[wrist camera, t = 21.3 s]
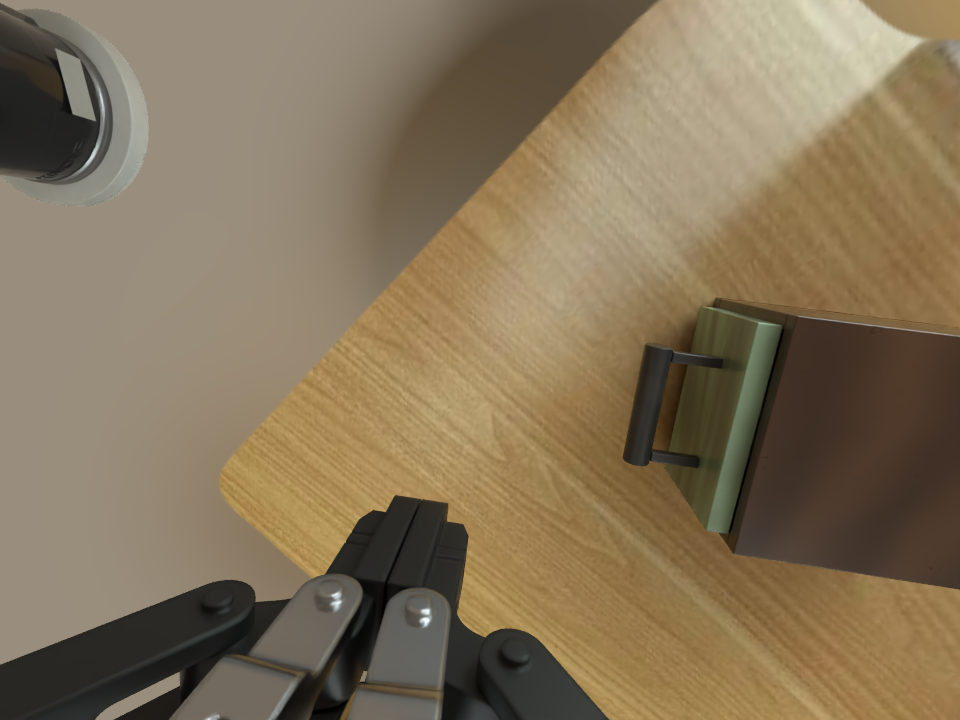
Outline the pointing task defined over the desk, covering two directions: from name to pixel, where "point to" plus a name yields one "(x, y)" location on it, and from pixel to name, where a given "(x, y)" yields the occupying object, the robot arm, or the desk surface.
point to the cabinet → (856, 448)
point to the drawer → (707, 410)
